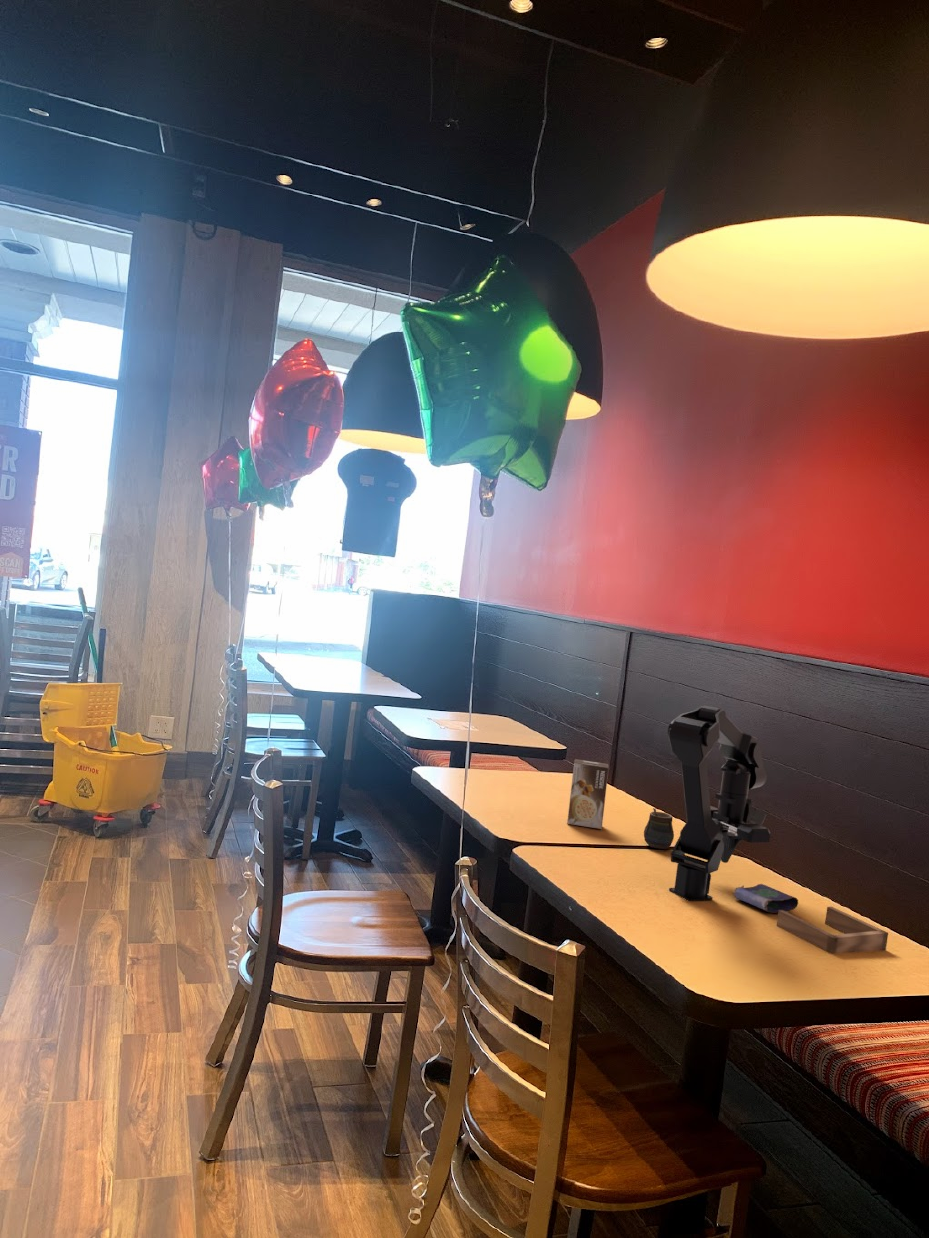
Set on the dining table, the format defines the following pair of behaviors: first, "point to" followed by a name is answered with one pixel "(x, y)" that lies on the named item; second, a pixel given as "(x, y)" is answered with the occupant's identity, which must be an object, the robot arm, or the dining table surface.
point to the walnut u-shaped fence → (854, 939)
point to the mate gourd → (659, 830)
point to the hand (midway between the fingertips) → (724, 862)
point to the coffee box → (588, 794)
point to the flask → (766, 898)
